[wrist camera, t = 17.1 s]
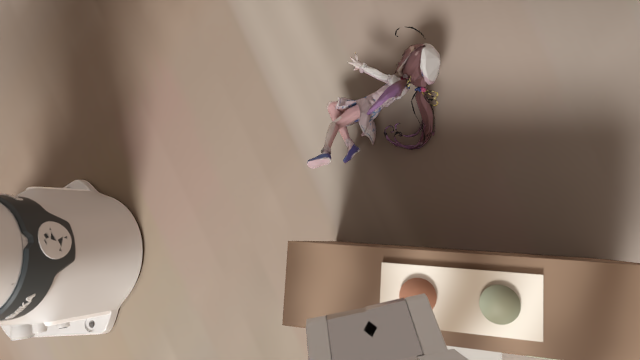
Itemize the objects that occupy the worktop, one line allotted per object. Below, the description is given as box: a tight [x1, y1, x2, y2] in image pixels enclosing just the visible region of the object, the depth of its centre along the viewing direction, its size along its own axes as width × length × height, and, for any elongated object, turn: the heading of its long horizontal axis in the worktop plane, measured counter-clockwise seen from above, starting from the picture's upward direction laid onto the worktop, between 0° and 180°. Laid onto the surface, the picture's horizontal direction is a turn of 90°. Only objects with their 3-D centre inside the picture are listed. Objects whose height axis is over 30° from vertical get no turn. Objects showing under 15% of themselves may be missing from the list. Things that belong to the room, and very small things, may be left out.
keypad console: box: [282, 241, 640, 360], centre depth 36 cm, size 24×6×15 cm, turn 86°
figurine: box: [307, 27, 440, 168], centre depth 43 cm, size 12×9×15 cm
